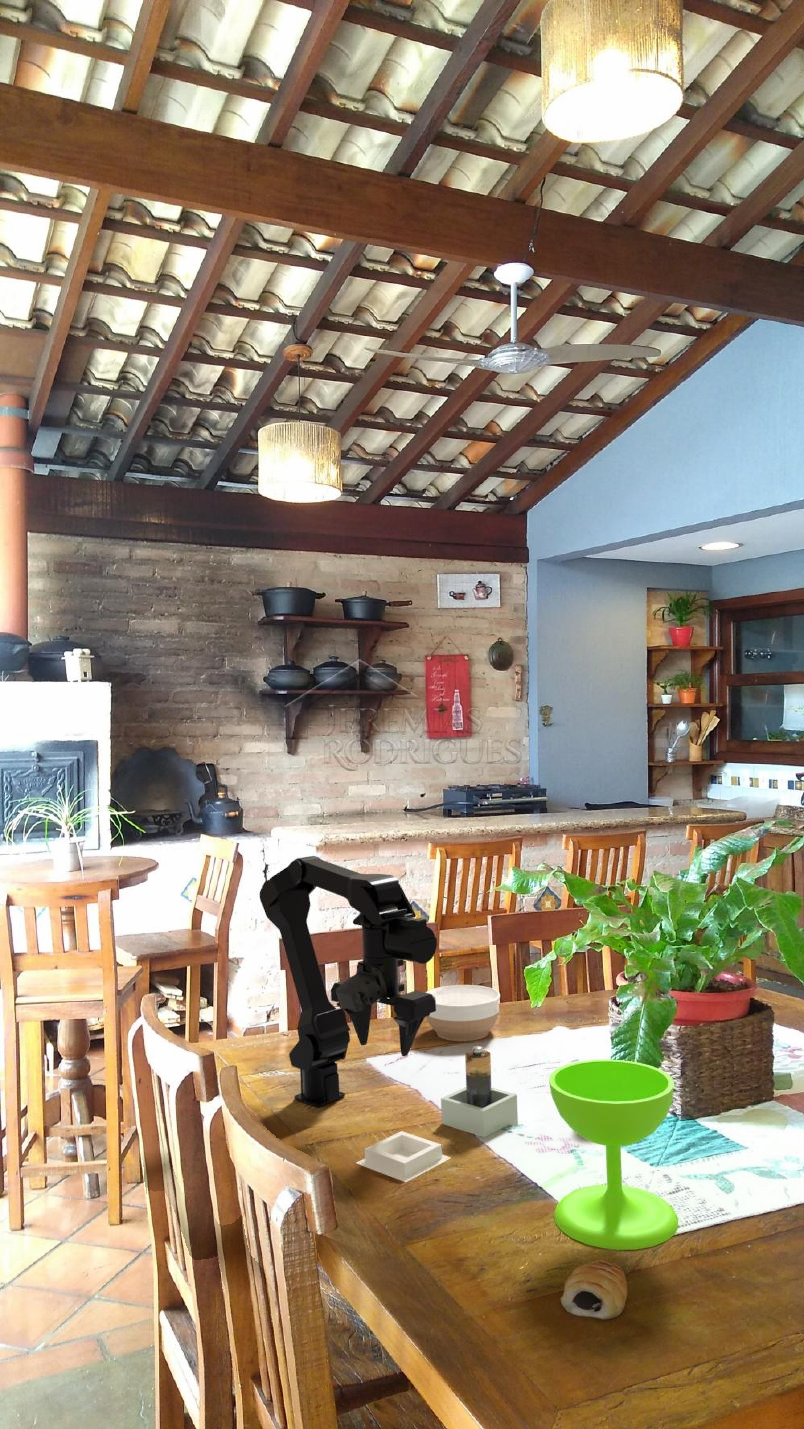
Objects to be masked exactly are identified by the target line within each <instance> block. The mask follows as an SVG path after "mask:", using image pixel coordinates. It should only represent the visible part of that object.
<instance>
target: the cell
mask: <svg viewBox="0 0 804 1429" xmlns="http://www.w3.org/2000/svg"><path fill="white" fill-rule="evenodd" d="M491 1055H492V1054H491V1052H490V1051H488V1050H485V1049H484V1047H483V1046H480V1045H475V1046H472V1050H468V1051H466V1052H465V1053H464V1057H465V1058H464V1060H465V1087H466V1095H467V1104H470V1105H473V1106H476V1107H480V1108H484V1107H486V1106H488V1105H490V1104H492V1092H491V1088H492V1063H491V1061H492V1060H491V1059H492V1058H491Z"/></svg>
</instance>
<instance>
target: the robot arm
mask: <svg viewBox="0 0 804 1429" xmlns="http://www.w3.org/2000/svg"><path fill="white" fill-rule="evenodd" d="M399 881H400V880H399V879H398V878H397V877H396V876H394V875H392V874H385V873H383V874H382V873H360V872H357V871H354V870H352V869H348V868H346V867H343V866H340V865H338V864H334V863H331V862H329V861H327V860H323V859H321V858H320V857H319V856H317V855H312V856H303V857H297V858H295V859H293V860H292V861H291V862H290V863H289V864H288V866H286V867H285V868H284V869H282V870H280V871H278V872H277V873H276V874H274V875H272V876H271V877H270V878H269V879H267V880H266V881H264V882H263V884H262V886H261V889H260V891H259V899H260V900H259V901H260V903H261V906H262V908H263V910H264V913H265V916H266V917H267V919H268V921H270V923H272V925H274V927H276V928H277V929H278V930H279V932H280V936H281V941H282V944H283V948H284V951H285V954H286V958H287V963H288V965H289V969H290V973H291V977H292V980H293V984H294V988H295V991H296V995H297V999H298V1002H299V1006H300V1011H301V1012H300V1015H299V1019H298V1024H297V1030H296V1031H297V1035H298V1041H297V1043H295V1045H294V1047H292V1048H291V1051H289V1054H288V1057H289V1061H290V1065H291V1067H293V1068H296V1069H299V1072H300V1073H299V1074H300V1076H299V1077H300V1093H298V1094H295V1095H294V1098H293V1099H294V1100H296V1101H300V1102H303V1103H306V1104H309V1105H310V1106H311V1105H312V1106H314V1107H317V1108H320V1107H322V1106H325V1105H327V1104H330V1103H332V1102H334V1101H337V1100H340V1099H342V1098H344V1097H345V1096H346V1093H345V1092H342V1091H340V1077H339V1076H340V1075H339V1072H338V1063H337V1062H338V1061H341V1060H342V1061H343V1060H346V1056H347V1052H348V1047H349V1044H350V1042H351V1036H350V1031H351V1028H350V1026H349V1024H348V1021H347V1018H346V1013H347V1014H348V1016H349V1018H350V1020H351V1023H352V1026H353V1028H354V1031H355V1033H356V1037H357V1039H358V1041H359V1044H360V1045H361V1046H365V1045H366V1046H367V1044H368V1039H369V1033H370V1025H371V1018H372V1017H371V1014H372V1005H374V1004H375V1003H379V1004H383V1005H388V1006H392V1007H393V1012H394V1013H395V1015H396V1016H394V1017H392V1019H393V1020H394V1021H395V1023H396V1024H397V1025H398V1032H399V1033H398V1034H399V1045H400V1046H399V1047H400V1054H401V1057H407V1056H408V1055H409V1053H410V1051H411V1048H412V1046H413V1044H414V1041H415V1039H416V1035H417V1034H418V1031H419V1029H420V1027H421V1025H422V1024H423V1022H424V1019H425V1018H426V1017H427V1016H429V1015H430V1013H432V1012H435V1011H436V1000H435V997H434V996H433V995H432V994H430V993H426V992H424V991H420V990H419V991H418V990H413V991H411V992H408V993H404V994H400V993H401V992H403V991H405V984H404V983H401V982H400V971H399V967H402V966H404V965H405V964H404V961H407V962H412V963H417V964H421V965H425V964H427V963H428V962H430V961H431V960H432V959H433V957H434V956H435V954H436V951H437V945H438V940H437V937H436V935H435V933H434V930H432V928H430V927H429V926H428V925H427V923H428V922H427V919H426V918H423V917H419V918H416V916H417V915H416V912H415V911H414V908H413V906H412V904H411V902H410V901H409V899H408V896H407V895H406V893H405V891H404V889H403V888H402V886H401V884H400V882H399ZM316 888H319V889H322V890H324V891H327V892H329V893H332V894H335V895H338V896H340V897H342V898H344V899H345V900H347V902H348V904H349V906H350V907H351V908H352V909H354V910H355V911H357V912H359V914H358V915H357V916H356V917H355V918H354V919H353V920H352V923H353V925H355V926H357V925H358V926H360V927H361V937H362V939H361V940H362V941H361V942H362V960H361V961H360V960H359V961H357V964H356V972H355V974H354V975H351V976H350V977H348V978H347V979H343V980H341V981H337V982H334V983H333V985H332V986H331V989H330V999H329V997H328V992H327V990H326V986H325V983H324V979H323V976H322V972H321V971H322V970H321V969H320V964H319V962H318V958H317V954H316V950H315V948H314V947H315V946H314V944H313V941H312V937H311V932H310V930H309V927H308V916H309V912H310V909H311V900H310V895H311V893H313V892H314V890H315V889H316ZM330 1001H331V1002H335V1003H336V1006H337V1007H338V1008H336V1007H335V1006H334V1005H333V1003H331V1002H330Z"/></svg>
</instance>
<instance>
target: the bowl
mask: <svg viewBox="0 0 804 1429" xmlns="http://www.w3.org/2000/svg"><path fill="white" fill-rule="evenodd" d="M425 993H430V994H432V995H433V996H434V997H435V1000H436V1011H435V1012H432V1013H430V1015H429V1016H427V1017H425V1018H426V1021H427V1022H428V1024H429V1026H430V1027H431V1028H432V1029H433V1030H434V1031H435V1033H436V1035H437V1036H438V1037H439V1038H440V1039H443V1040H447V1041H450V1042H451V1041H453V1042H469V1041H477V1040H481V1039H483V1038H486V1037H487V1036H488V1035H489V1034H490V1031H491V1029H493V1027H494V1026H495V1025H496V1023H497V1020H498V1019H499V1011H500V1006H499V1005H500V1004H499V1001H500V998H501V994H500V991H498V990H496V989H495V988H493V987H488V986H483V985H475V984H453V985H452V984H451V985H445V986H439V987H436V988H435V987H434V988H432V989H430V990H427V991H426V992H425Z"/></svg>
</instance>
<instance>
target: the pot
mask: <svg viewBox="0 0 804 1429" xmlns="http://www.w3.org/2000/svg"><path fill="white" fill-rule="evenodd" d="M491 1092H492V1104H490V1105H488V1106H486V1107H484V1108H480V1107H476V1106H473V1105H470V1104H467V1095H466V1086H464V1087H463V1088H461V1089H458V1090H456V1091H454V1092H452V1093H449V1094H447V1095H445V1096H444V1097H441V1098H440V1106H441V1107H440V1108H441V1125H444V1126H448V1127H451V1128H453V1129H457V1130H461V1131H463V1132H466V1133H468V1134H469V1133H470V1134H472V1135H475V1136H479V1137H483V1138H486V1137H488V1136H489V1135H490V1136H491V1135H492V1134H493V1133H496V1132H498V1131H499V1130H501V1129H503V1128H505V1127H507V1126H509V1125H510V1126H514V1127H516V1126H517V1127H518V1126H519V1121H518V1120H519V1117H518V1115H519V1114H518V1095H517V1093H514V1092H513V1093H512V1092H510V1091H509V1092H508V1091H505V1090H502V1089H498V1088H494V1087H491Z"/></svg>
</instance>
